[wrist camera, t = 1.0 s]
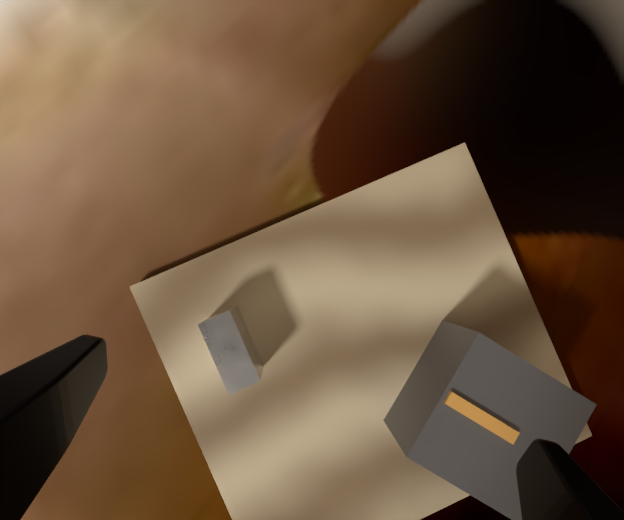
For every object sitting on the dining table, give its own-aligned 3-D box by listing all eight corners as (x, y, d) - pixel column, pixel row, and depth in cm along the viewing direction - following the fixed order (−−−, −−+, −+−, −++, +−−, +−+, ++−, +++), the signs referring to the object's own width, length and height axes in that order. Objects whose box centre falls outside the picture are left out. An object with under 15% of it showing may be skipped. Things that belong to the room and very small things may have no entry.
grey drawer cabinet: (538, 378, 24) (600, 405, 19) (481, 478, 23) (529, 531, 19) (442, 319, 24) (481, 333, 19) (383, 420, 23) (407, 459, 19)
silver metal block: (263, 365, 23) (260, 380, 20) (236, 378, 23) (228, 395, 20) (237, 305, 23) (229, 310, 20) (209, 317, 23) (197, 324, 20)
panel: (580, 429, 25) (592, 435, 24) (266, 581, 24) (265, 594, 23) (457, 147, 25) (464, 142, 24) (136, 285, 24) (129, 286, 23)
